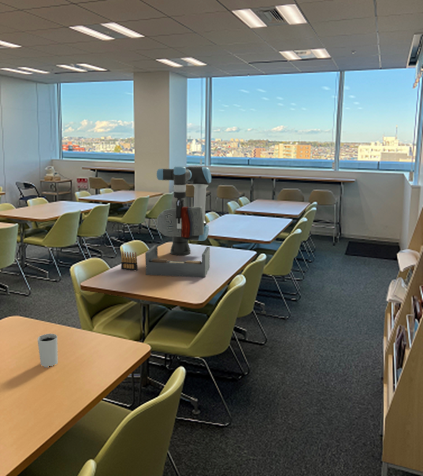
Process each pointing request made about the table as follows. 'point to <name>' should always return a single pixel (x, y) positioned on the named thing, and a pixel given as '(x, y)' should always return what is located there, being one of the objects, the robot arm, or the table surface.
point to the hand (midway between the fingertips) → (180, 227)
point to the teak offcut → (194, 262)
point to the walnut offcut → (160, 260)
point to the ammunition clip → (129, 261)
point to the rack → (176, 265)
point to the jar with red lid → (189, 222)
